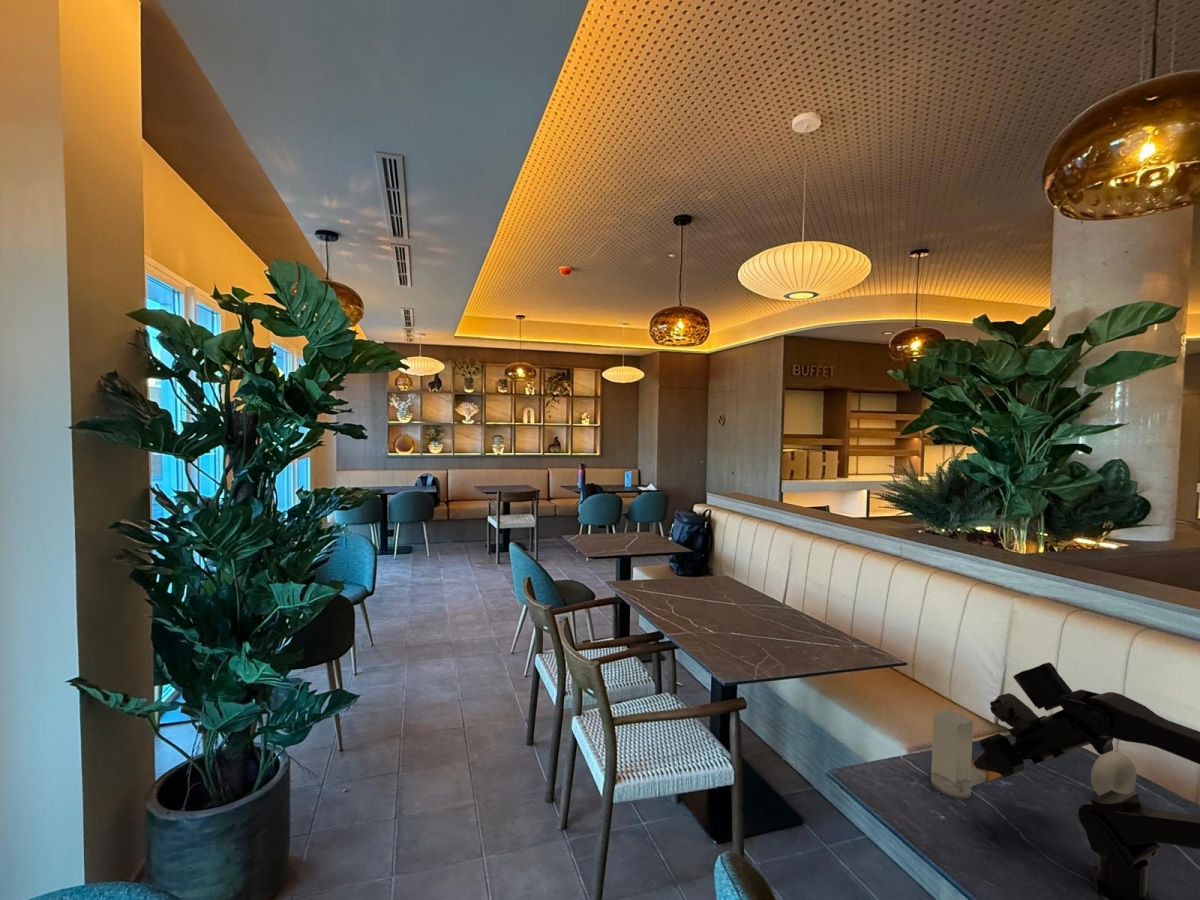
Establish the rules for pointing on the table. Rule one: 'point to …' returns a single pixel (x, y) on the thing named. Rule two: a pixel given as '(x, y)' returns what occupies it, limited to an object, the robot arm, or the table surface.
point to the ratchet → (964, 788)
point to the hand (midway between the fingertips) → (990, 760)
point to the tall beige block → (952, 747)
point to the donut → (1113, 774)
